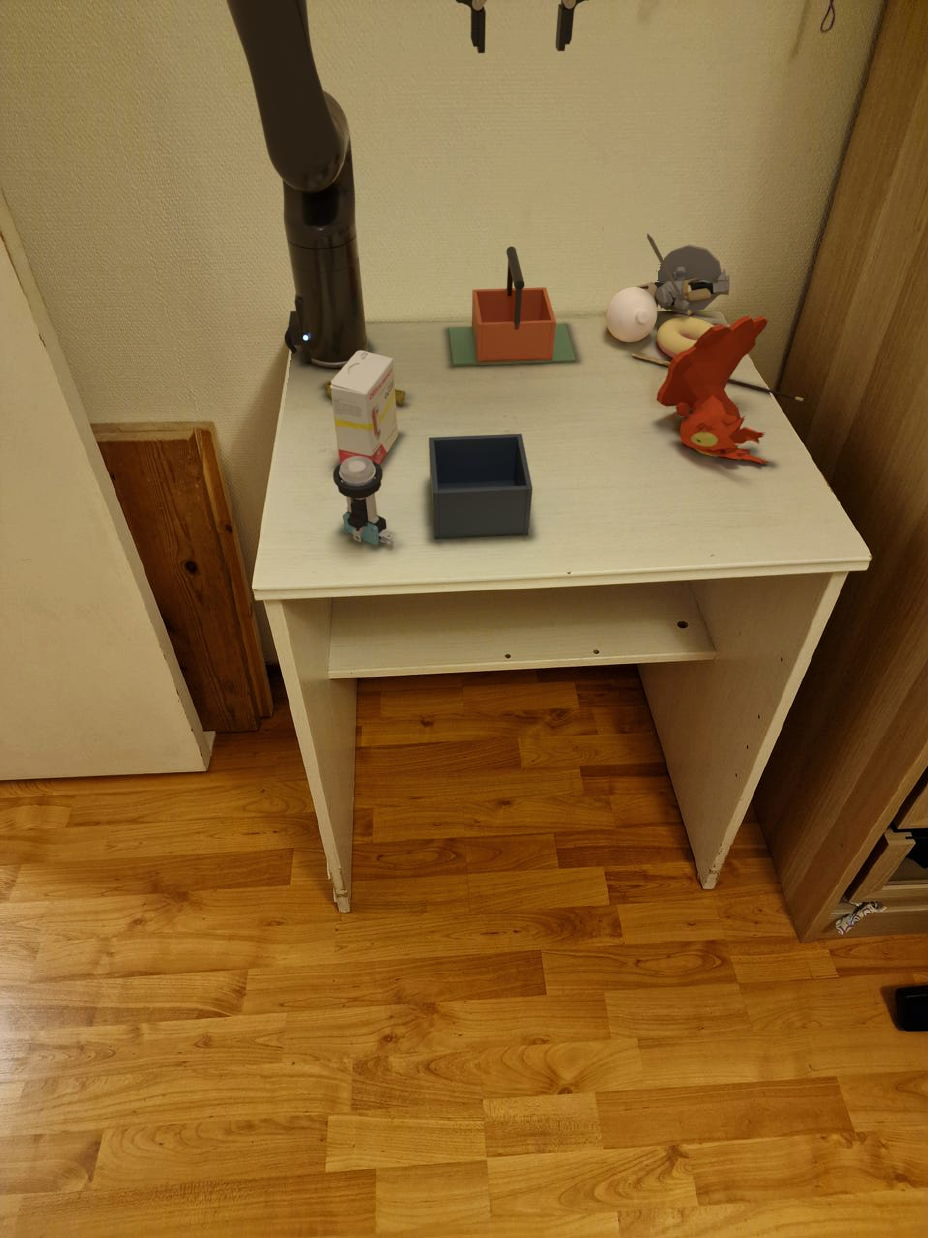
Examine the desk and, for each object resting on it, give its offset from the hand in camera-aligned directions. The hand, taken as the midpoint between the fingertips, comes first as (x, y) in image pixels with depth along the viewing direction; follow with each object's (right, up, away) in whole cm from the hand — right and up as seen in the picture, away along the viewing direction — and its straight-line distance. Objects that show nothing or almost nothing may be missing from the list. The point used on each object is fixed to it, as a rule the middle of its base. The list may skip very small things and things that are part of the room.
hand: (520, 50), depth 86 cm
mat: (+1, -20, +35) cm, 40 cm away
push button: (-17, -51, +8) cm, 55 cm away
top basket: (+1, -20, +34) cm, 39 cm away
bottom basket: (-4, -48, +11) cm, 49 cm away
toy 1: (+32, -10, +29) cm, 44 cm away
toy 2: (+25, -27, +18) cm, 42 cm away
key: (-20, -30, +26) cm, 45 cm away
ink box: (-18, -39, +18) cm, 47 cm away
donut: (+24, -22, +31) cm, 45 cm away
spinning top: (+17, -13, +40) cm, 45 cm away
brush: (+19, -22, +33) cm, 43 cm away
